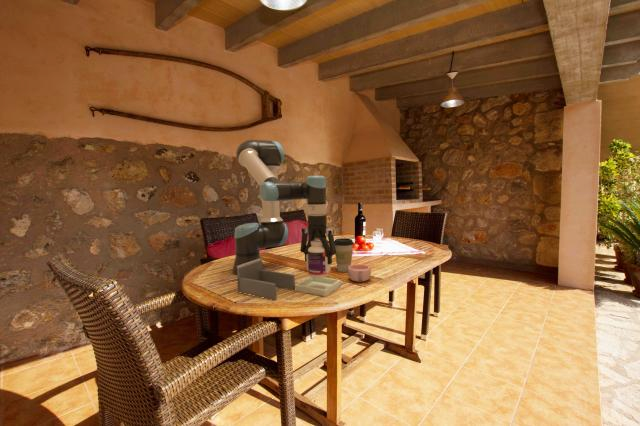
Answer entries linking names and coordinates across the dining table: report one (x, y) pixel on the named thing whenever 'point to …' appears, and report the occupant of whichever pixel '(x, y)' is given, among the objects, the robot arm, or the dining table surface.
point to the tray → (318, 286)
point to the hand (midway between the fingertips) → (318, 270)
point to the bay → (262, 280)
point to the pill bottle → (316, 260)
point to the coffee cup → (343, 253)
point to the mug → (359, 272)
